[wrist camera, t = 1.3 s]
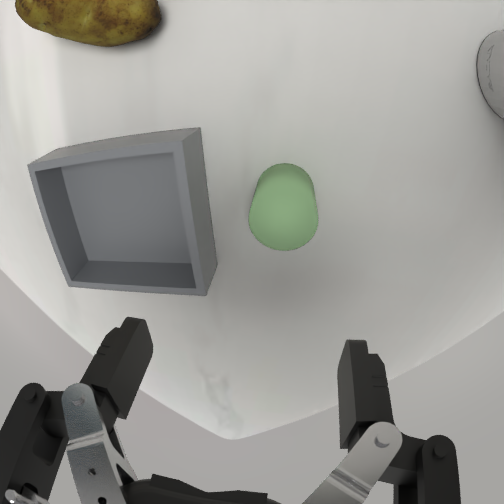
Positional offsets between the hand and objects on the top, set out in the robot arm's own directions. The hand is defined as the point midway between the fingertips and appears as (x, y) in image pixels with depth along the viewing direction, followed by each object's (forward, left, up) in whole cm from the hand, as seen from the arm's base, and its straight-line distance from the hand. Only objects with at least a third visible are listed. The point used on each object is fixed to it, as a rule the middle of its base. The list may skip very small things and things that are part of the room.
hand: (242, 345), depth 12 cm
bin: (+14, +2, -19) cm, 23 cm away
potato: (+14, -18, -19) cm, 29 cm away
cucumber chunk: (-1, +1, -19) cm, 19 cm away
